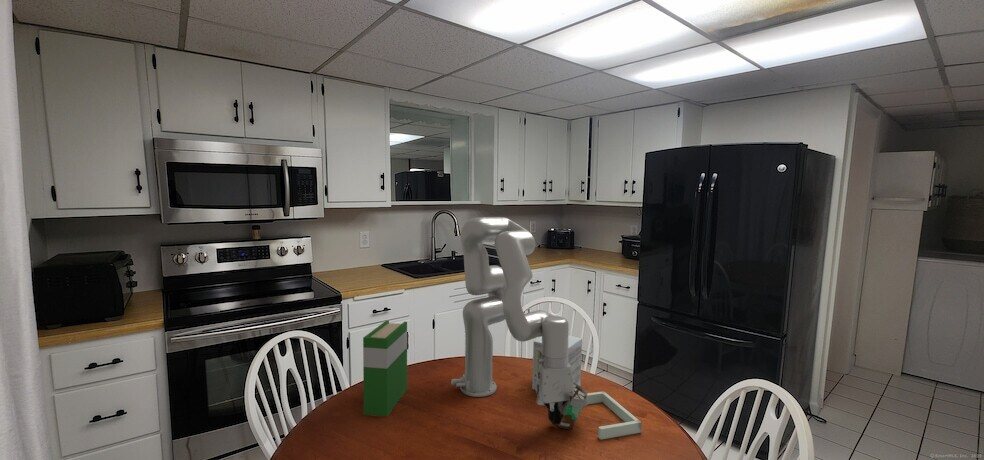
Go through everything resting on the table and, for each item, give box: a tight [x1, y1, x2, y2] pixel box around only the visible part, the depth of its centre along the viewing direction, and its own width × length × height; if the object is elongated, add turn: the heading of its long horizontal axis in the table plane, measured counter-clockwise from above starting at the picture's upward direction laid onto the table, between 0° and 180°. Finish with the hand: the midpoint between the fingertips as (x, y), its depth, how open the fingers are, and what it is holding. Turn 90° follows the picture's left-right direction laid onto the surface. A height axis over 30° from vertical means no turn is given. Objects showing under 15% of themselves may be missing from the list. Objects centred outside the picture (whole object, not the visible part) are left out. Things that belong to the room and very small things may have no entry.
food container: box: [557, 382, 588, 430], centre depth 117 cm, size 12×6×10 cm, turn 178°
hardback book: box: [362, 320, 408, 417], centre depth 128 cm, size 18×7×24 cm, turn 173°
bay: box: [587, 391, 643, 440], centre depth 121 cm, size 13×19×3 cm
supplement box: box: [532, 335, 583, 391], centre depth 140 cm, size 13×13×18 cm
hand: (553, 421), depth 115 cm, fingers closed
